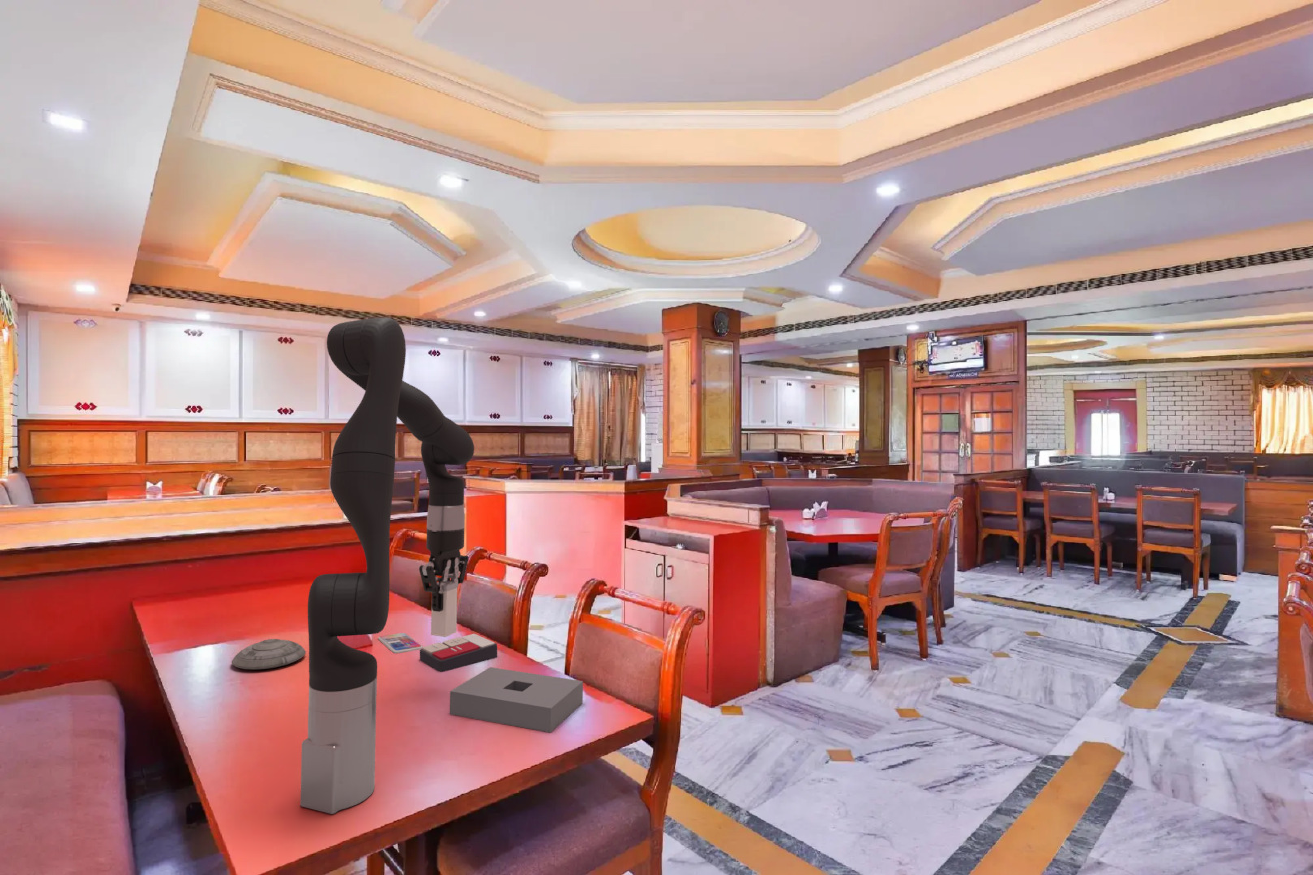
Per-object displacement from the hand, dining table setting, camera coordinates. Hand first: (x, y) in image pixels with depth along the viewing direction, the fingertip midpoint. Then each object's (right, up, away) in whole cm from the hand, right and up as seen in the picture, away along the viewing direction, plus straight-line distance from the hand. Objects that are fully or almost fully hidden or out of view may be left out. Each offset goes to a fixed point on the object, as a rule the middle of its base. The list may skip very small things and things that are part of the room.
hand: (443, 607), depth 132 cm
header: (+17, -19, -6) cm, 26 cm away
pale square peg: (0, -5, 0) cm, 5 cm away
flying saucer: (-47, -18, +17) cm, 54 cm away
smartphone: (-22, -19, +32) cm, 44 cm away
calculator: (-4, -19, +22) cm, 29 cm away
